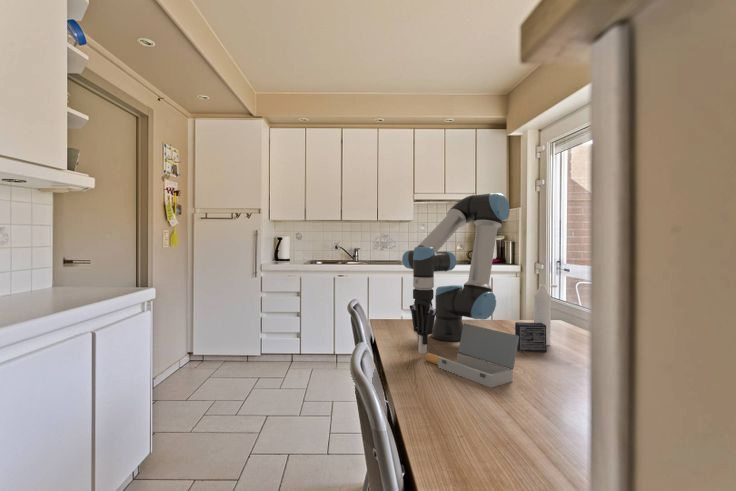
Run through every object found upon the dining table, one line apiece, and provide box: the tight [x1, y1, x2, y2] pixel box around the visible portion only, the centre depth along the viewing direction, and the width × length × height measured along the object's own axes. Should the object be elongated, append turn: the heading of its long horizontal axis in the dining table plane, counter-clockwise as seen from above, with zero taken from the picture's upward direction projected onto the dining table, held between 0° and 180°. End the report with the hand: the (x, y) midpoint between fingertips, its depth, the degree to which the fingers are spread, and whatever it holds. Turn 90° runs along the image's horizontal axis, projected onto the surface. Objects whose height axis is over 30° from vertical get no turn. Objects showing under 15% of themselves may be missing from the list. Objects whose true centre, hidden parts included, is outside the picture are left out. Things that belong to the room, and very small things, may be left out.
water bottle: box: [533, 283, 558, 347], centre depth 168 cm, size 9×6×25 cm
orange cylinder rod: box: [424, 352, 450, 366], centre depth 139 cm, size 10×3×3 cm
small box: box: [514, 321, 547, 353], centre depth 159 cm, size 11×6×10 cm, turn 84°
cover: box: [458, 322, 519, 371], centre depth 133 cm, size 22×10×1 cm
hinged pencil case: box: [437, 352, 514, 389], centre depth 129 cm, size 22×10×4 cm, turn 34°
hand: (422, 352), depth 148 cm, fingers closed
